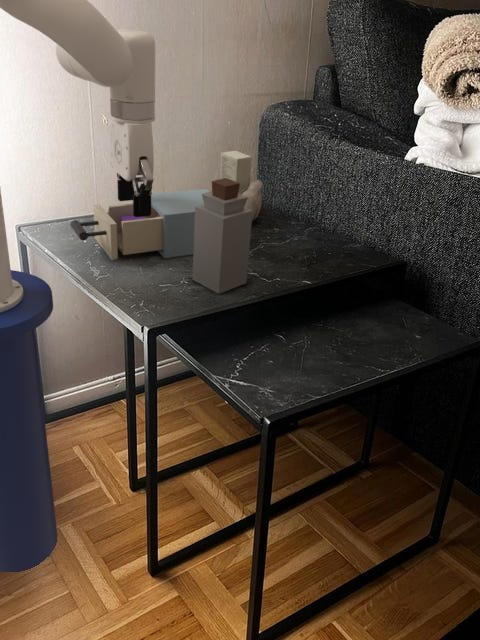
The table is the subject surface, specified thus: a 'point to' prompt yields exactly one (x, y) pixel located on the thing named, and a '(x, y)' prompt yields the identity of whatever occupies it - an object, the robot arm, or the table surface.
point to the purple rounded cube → (131, 218)
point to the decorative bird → (254, 198)
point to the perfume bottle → (222, 237)
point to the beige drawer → (123, 230)
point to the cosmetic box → (236, 168)
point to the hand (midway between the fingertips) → (134, 207)
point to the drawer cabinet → (178, 220)
